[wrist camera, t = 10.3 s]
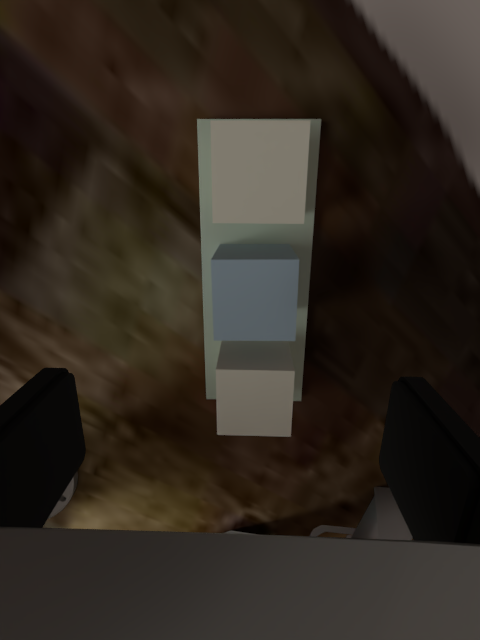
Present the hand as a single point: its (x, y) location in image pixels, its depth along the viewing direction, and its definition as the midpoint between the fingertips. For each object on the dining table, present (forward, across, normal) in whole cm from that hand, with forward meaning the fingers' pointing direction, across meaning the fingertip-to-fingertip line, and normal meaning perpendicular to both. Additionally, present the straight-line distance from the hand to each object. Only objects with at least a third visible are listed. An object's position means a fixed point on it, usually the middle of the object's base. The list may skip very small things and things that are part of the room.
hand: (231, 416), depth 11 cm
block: (+17, -1, 0) cm, 17 cm away
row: (+18, -1, 0) cm, 18 cm away
